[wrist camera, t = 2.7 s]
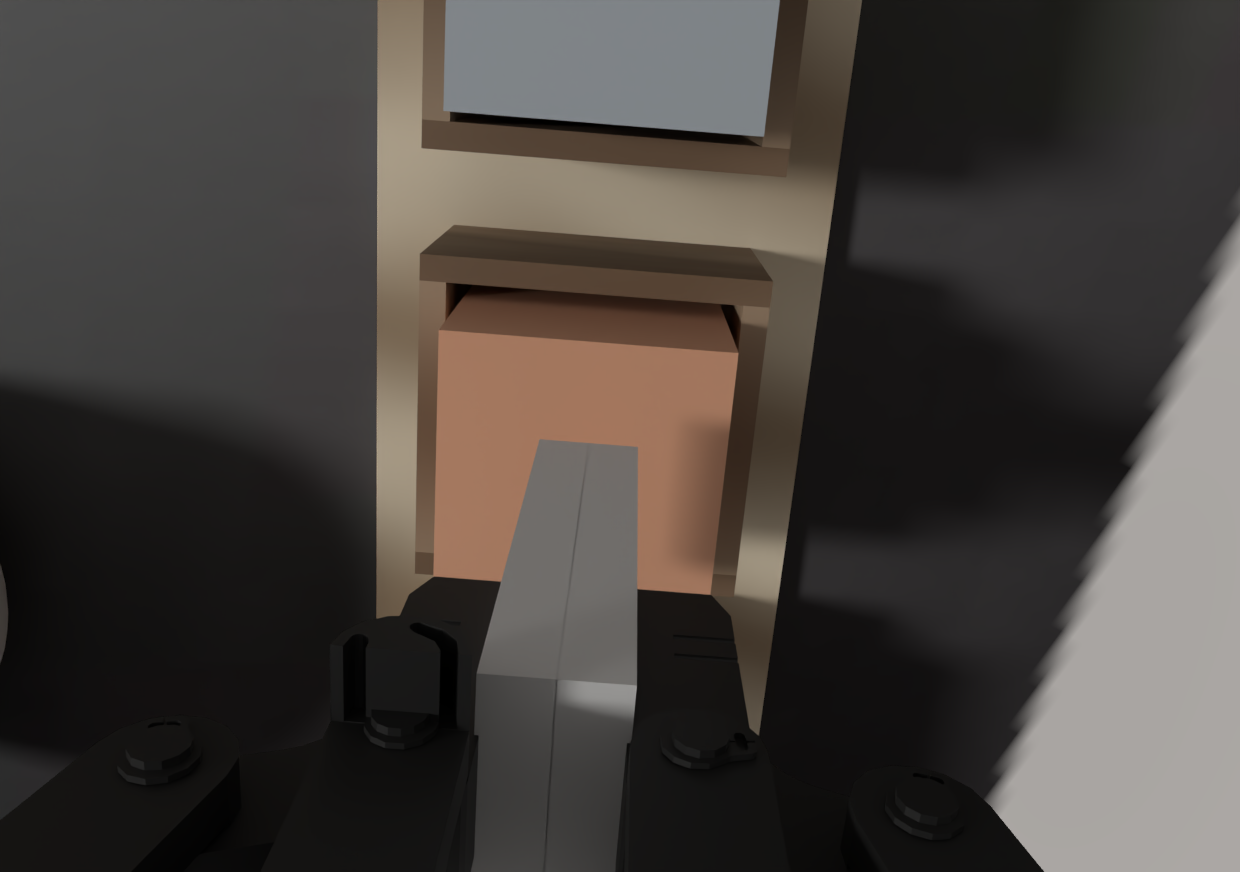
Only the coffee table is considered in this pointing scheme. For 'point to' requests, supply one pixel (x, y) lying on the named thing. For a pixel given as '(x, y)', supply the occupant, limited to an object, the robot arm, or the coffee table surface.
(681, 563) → the button terracotta
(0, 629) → the teacup
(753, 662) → the button board
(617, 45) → the button slate
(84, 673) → the coffee table surface
